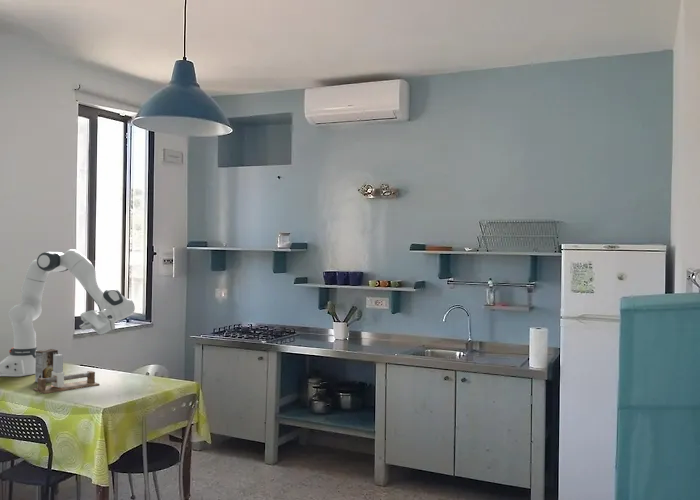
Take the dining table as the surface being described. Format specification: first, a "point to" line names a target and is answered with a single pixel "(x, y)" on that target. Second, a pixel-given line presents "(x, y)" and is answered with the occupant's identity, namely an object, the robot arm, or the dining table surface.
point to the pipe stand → (68, 386)
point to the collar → (58, 370)
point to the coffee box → (44, 363)
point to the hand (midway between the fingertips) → (80, 328)
